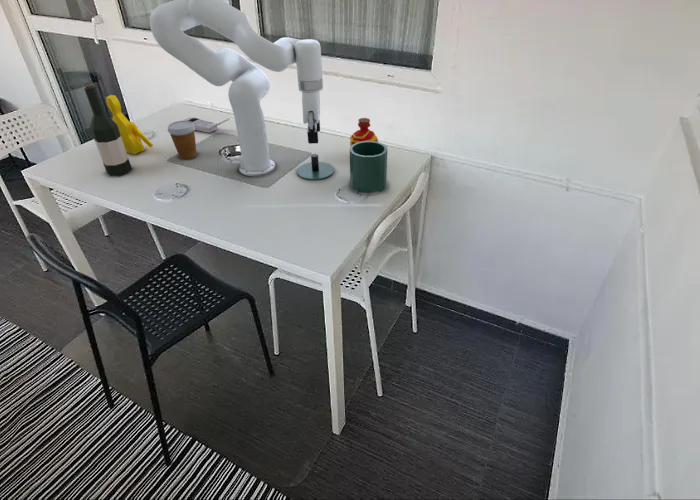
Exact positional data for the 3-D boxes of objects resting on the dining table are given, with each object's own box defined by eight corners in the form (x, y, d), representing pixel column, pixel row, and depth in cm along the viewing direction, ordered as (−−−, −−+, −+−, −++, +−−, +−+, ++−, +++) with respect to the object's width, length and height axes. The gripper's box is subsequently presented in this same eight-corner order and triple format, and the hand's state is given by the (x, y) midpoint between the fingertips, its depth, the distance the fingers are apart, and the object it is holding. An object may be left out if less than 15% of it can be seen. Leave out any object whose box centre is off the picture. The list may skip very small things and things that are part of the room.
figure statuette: (159, 151, 173) (142, 93, 160) (144, 159, 168) (125, 100, 154) (124, 144, 179) (105, 87, 166) (109, 152, 173) (88, 94, 160)
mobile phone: (221, 122, 179) (173, 113, 188) (223, 137, 183) (176, 126, 192) (230, 117, 184) (183, 108, 193) (232, 131, 187) (186, 122, 196)
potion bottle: (375, 167, 160) (376, 126, 151) (347, 165, 162) (346, 124, 153) (380, 154, 168) (381, 115, 159) (352, 152, 170) (352, 113, 161)
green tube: (350, 194, 145) (349, 157, 137) (350, 177, 155) (349, 141, 147) (386, 194, 145) (388, 156, 137) (384, 176, 154) (386, 140, 147)
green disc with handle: (295, 182, 152) (293, 164, 148) (299, 164, 162) (297, 147, 158) (333, 181, 152) (332, 163, 148) (334, 164, 162) (334, 147, 158)
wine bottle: (137, 168, 162) (109, 82, 144) (118, 178, 156) (87, 90, 138) (120, 164, 165) (90, 80, 147) (101, 173, 159) (68, 87, 141)
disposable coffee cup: (169, 159, 168) (160, 128, 161) (186, 148, 175) (178, 118, 168) (190, 163, 165) (182, 131, 158) (206, 152, 172) (199, 121, 165)
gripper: (301, 76, 146) (305, 127, 156) (295, 93, 132) (300, 148, 142) (324, 75, 146) (327, 126, 156) (321, 93, 132) (324, 147, 142)
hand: (314, 136), depth 149 cm, fingers open, 9 cm apart
